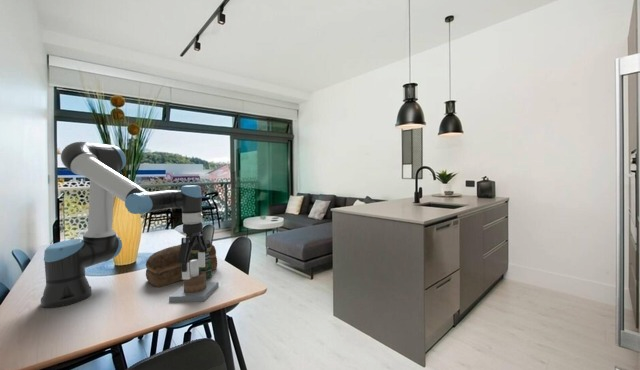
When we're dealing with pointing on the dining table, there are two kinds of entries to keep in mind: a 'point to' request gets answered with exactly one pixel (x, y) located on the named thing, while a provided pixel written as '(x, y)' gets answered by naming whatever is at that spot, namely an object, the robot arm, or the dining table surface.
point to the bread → (170, 266)
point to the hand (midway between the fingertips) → (194, 272)
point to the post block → (198, 296)
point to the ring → (195, 283)
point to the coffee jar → (207, 259)
